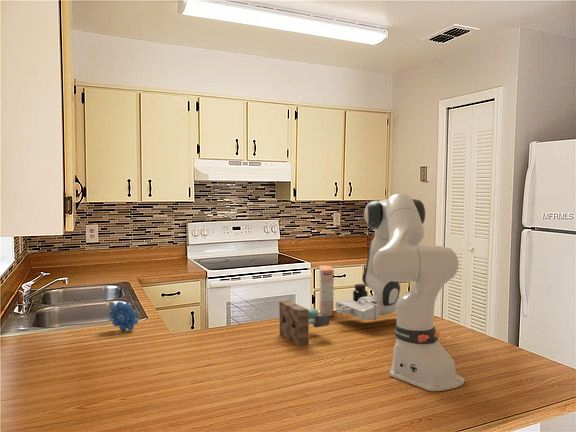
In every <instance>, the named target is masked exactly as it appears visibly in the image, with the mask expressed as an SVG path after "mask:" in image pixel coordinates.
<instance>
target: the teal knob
mask: <svg viewBox="0 0 576 432" xmlns="http://www.w3.org/2000/svg"><path fill="white" fill-rule="evenodd" d="M318 314H319V310H318V309H317V308H312V309H311V308H310V309H308V320H310V319H312V316H313V315H318ZM285 319H286V317H285Z"/></svg>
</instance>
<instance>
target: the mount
mask: <svg viewBox="0 0 576 432" xmlns="http://www.w3.org/2000/svg"><path fill="white" fill-rule="evenodd" d="M278 304H279V335H280V336H282V337H283V338H284V339H286V340H288V341H290V342H291V343H293V344H294V345H296V346H298V347H303V346H308V345H309V342H310V341H309V340H310V339H309V334H310V333H309V330H310V329H309V328H310V327H309V323H308V310H309V309H308V308H306V307H304V306H302V305H299V304H297V303H295V302H294V301H291V300H281V301H279V303H278ZM285 317H286V319H285ZM295 322H296V326H295Z"/></svg>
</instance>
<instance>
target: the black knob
mask: <svg viewBox="0 0 576 432" xmlns="http://www.w3.org/2000/svg"><path fill="white" fill-rule="evenodd" d="M308 323H309V325H312V326H313V327H314V328H321V327H326V326H327V327H328V326H329V325H330V316H328V314H326V313H324V314H321V313H318V315H313V316H312V319H310V320H308ZM295 326H296V322H295Z"/></svg>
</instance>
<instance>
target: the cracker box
mask: <svg viewBox="0 0 576 432" xmlns="http://www.w3.org/2000/svg"><path fill="white" fill-rule="evenodd" d="M334 274H335V270H334V269H333V266H332V265H319V312H320V313H319V314H324V313H326V314H328V316H329V317H334V285H335V284H334V283H335V282H334V280H335V279H334V277H335V275H334Z"/></svg>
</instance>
